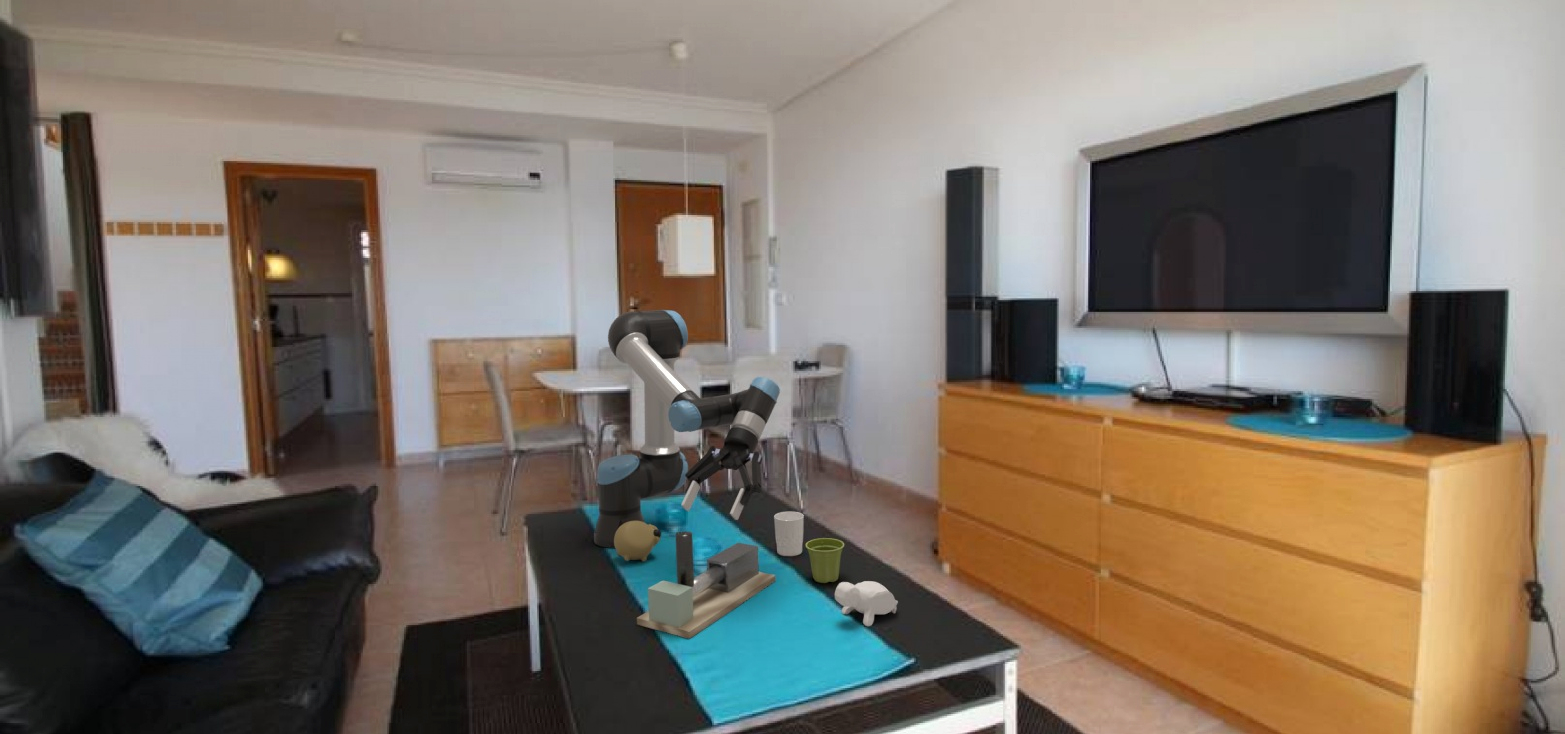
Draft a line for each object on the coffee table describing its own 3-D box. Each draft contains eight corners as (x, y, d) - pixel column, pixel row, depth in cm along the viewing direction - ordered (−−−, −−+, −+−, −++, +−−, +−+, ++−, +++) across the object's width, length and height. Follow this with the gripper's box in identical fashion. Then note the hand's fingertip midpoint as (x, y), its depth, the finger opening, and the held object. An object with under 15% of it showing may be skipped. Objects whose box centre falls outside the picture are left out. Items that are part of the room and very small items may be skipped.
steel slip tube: (662, 608, 162) (659, 541, 160) (718, 575, 179) (716, 514, 178) (675, 612, 160) (672, 543, 158) (731, 578, 178) (729, 516, 176)
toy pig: (666, 559, 201) (665, 520, 200) (624, 570, 194) (622, 529, 193) (651, 549, 209) (649, 511, 208) (609, 559, 203) (607, 520, 201)
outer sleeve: (707, 588, 178) (706, 559, 177) (738, 569, 189) (738, 542, 188) (728, 592, 175) (727, 563, 174) (758, 573, 186) (758, 546, 185)
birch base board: (637, 624, 163) (636, 617, 163) (727, 571, 192) (727, 565, 192) (689, 638, 156) (689, 631, 156) (775, 581, 185) (775, 575, 185)
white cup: (804, 557, 201) (803, 520, 200) (774, 557, 201) (773, 520, 200) (804, 546, 209) (803, 511, 207) (775, 547, 209) (774, 511, 208)
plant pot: (799, 582, 184) (798, 547, 183) (816, 569, 192) (815, 535, 191) (835, 588, 180) (834, 553, 179) (850, 574, 188) (850, 540, 187)
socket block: (649, 619, 162) (647, 588, 161) (664, 610, 166) (662, 580, 165) (679, 627, 158) (677, 595, 157) (693, 618, 162) (692, 587, 161)
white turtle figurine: (868, 616, 171) (819, 609, 163) (878, 579, 172) (830, 570, 164) (895, 630, 164) (845, 623, 156) (905, 591, 165) (857, 582, 157)
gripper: (795, 448, 179) (762, 528, 168) (709, 438, 192) (673, 512, 181) (783, 430, 174) (748, 512, 163) (695, 421, 187) (657, 496, 176)
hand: (708, 512), depth 172 cm, fingers open, 13 cm apart
